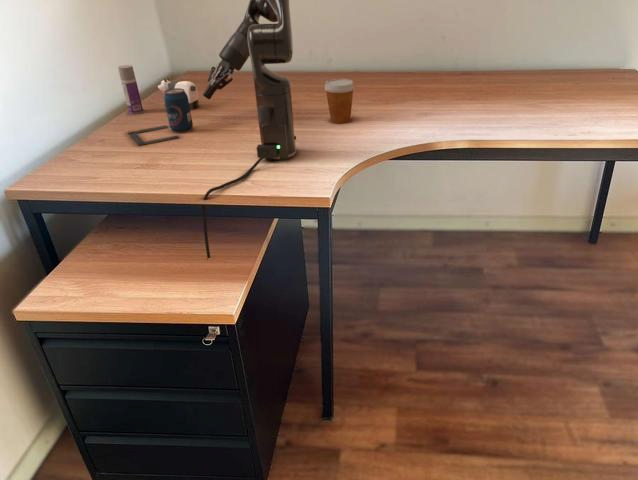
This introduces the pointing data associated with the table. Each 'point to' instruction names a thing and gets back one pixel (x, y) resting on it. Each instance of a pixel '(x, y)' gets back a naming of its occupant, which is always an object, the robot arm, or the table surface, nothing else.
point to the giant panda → (188, 88)
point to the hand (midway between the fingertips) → (205, 97)
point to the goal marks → (140, 141)
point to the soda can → (178, 110)
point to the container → (130, 89)
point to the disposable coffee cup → (339, 99)
